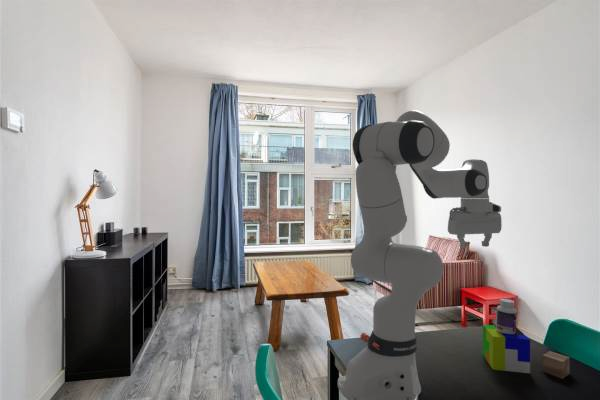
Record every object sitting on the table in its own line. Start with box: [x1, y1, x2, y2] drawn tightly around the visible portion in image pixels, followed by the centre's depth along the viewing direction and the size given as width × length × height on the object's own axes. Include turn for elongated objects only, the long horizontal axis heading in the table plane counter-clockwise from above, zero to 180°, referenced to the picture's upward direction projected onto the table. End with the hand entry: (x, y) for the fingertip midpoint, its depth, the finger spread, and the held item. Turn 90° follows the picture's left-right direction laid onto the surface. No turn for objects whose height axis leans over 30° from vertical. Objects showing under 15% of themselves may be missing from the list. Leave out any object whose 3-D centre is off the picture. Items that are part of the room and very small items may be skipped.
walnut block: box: [542, 350, 571, 380], centre depth 101 cm, size 5×5×5 cm
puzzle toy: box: [482, 324, 531, 374], centre depth 107 cm, size 10×10×10 cm
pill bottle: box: [495, 298, 518, 334], centre depth 107 cm, size 5×5×10 cm
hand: (474, 247), depth 118 cm, fingers open, 8 cm apart
